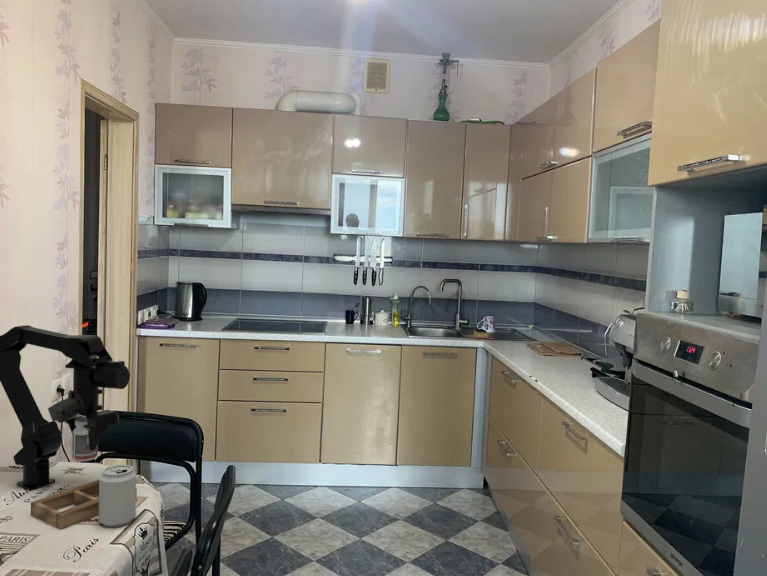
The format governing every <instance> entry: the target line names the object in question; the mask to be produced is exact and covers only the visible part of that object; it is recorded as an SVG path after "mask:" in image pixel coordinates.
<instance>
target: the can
mask: <svg viewBox="0 0 767 576" xmlns="http://www.w3.org/2000/svg"><path fill="white" fill-rule="evenodd" d="M98 480H99V495H98V498H99V515H98V522H99V523H101V524H102V525H103V526H104V527H107V528H118V527H122V526H125V525H127V524H129V523H130V522H131V521H132V520H133V519H134V518H135V517H136V507H137V505H136V504H137V493H136V488H137V473H136V472H135V471H134V467H133V466H132V465H129V464H115V465H110V466H107V467H105V468H104V469H103V470H102V474H101V475H100V476H99V479H98Z"/></svg>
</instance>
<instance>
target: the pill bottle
mask: <svg viewBox="0 0 767 576" xmlns="http://www.w3.org/2000/svg"><path fill="white" fill-rule="evenodd" d="M87 424H88V423H87V418H84V417H81V418H78V419H76V420H75V425H76V428H75V429H74V430H73V435H72V442H71V443H72V445H71V446H72V447H71V450H72V451H71V458H72V460H73V461H75V462H87V461H88V462H89V461H92V460H94V459H96V458H97V457H98V453H99V451H98V449H99V448H98V447H99V444H98V445H97V447H96V449H95V450H90V446H89V435H88V430H87V429H86V428H84V427H83V425H87Z"/></svg>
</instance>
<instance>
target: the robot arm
mask: <svg viewBox="0 0 767 576" xmlns="http://www.w3.org/2000/svg"><path fill="white" fill-rule="evenodd" d="M27 345H31V346H36V347H40V348H44V349H49V350H53V351H57V352H60V353H62V354H63V355H64V356H65V357H67V358H68V359H71V360H70V361H69V362H68V363H66V365H65V366H64V368H65V369H72V371H73V373H72V375H73V376H72V380H73V381H72V383H73V385H72V390H69V392H68V395H67V398H65V399H62V400H60V401H58V402H56V403H54V404H52V405H51V406H49V407H48V408H47V410H48V413H49V415H50V416H49V417H50V418H51V421H48V420H47V419H45V417H43V414H42V412H41V410H40V408H39V406H38V405H37V402H36V400H35V398H34V396H33V393H32V392H31V389H30V387H29V385H28V383H27V382H26V379H25V377H24V375H23V373H22V371H21V361H22V356H21V351H22V350H24V349H25V348H26V347H27ZM113 359H114V358H112V357H111V354H110V352H108V350H107V348H106V347H105V345H104V343H103V341H102V338H101V337H100V336H99V335H94V334H93V335H92V334H80V335H79V334H78V335H77V334H75V335H71V334H66V333H61V332H56V331H52V330H47V329H42V328H37V327H33V326H31V325H30V324H29V325H26V324H25V325H17V326H14V327H12V328H10V329H9V330H8V331H6V332H5V333H3V334H1V335H0V383H1V386H2V388H3V390H4V392H5V394H6V397H7V399H8V400H9V402H10V405H11V406H12V409H13V411H14V413H15V415H16V417H17V419H18V421H19V423H20V426H21V435H20V442H21V445H22V448H21V449H20V450H19V451H18V452H16V453H15V455H13V460H14V463H15V465H16V466H22V480H20V481H17V482H16V485H17V486H19V487H21V488H24V489H26V490H29V491H31V490H36V489H38V488H41V487H44V486H48V485H51V484H54V483H56V480H55V479H53V478H50V459H51V458H52V457H55V456H57V453H58V450H60V448H61V445H62V443H63V438H62V437H63V436H62V435H63V432H62V431H61V430H60V428H59V427H58V423H60V424H61V423H62V424H63V423H65V424H66V425H68V426H69V429H70V432H71V435H72V436H73V430H74V429H75V428H76V425H75V420H76V419H78V418H81V417H84V418H87V423H88V424H87V425H83V427H84V428H86V429H87V430H88V435H89V446H90V450H95V449H96V447H97V445H98V446H99V443H100V441H101V439H102V437H103V435H104V433H105V432H106V430H107V428H108V427H109V426H111V425H115V424H119V422H120V421H119V418H120V415H119V413H117V412H116V411H113V410H110V409H104V410H103V405H101V404H99V401H100V399H99V397H100V395H101V394H103V389H101V388H104V389H114V390H115V389H117V390H123V389H125V388H127V386H128V385H129V382H130V377H131V374H130V370H129V367H127V366H126V365H125V364H126V363H125V360H118V361H114V360H113ZM57 422H58V423H57Z"/></svg>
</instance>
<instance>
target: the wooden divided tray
mask: <svg viewBox="0 0 767 576" xmlns="http://www.w3.org/2000/svg"><path fill="white" fill-rule="evenodd" d="M137 491H138V489H137V487H136V494H137ZM97 496H98V497H97ZM72 505H75V506H73V507H70V508H67V509H65V510H62V511H59V510H61V509H64V508H66V507H69V506H72ZM30 516H31V517H33V518H36V519H37V520H38V519H39V520H40V521H42V522H45V523H46V524H48V525H51V526H53V527H54V528H57V529H59V530H63V529H66V528H68V527H71V526H73V525H74V526H75V525H76V524H79V523H81V522H84V521H86V520H90V519H92V518H95V517H97V516H99V479H97V480H95V481H92V482H91V481H90V482H88V483H85V484H82V485H78V486H76V487H74V488H70V489H67V490H64V491H60V492H58V493H55V494H52V495H48V496H46V497H42V498H39V499H37V500H33V501H30Z"/></svg>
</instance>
